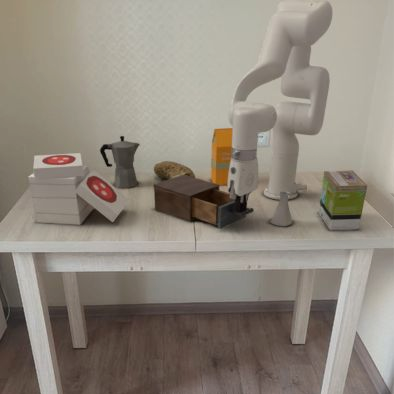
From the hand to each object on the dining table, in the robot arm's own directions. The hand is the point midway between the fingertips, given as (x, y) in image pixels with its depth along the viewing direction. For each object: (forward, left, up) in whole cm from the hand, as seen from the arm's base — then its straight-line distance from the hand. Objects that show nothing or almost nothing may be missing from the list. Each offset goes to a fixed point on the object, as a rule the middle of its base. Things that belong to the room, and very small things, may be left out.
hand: (240, 213), depth 156 cm
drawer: (+5, -6, -4) cm, 9 cm away
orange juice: (+1, -47, -5) cm, 47 cm away
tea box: (-33, -4, -5) cm, 34 cm away
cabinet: (+17, -17, -5) cm, 24 cm away
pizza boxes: (+53, -13, -5) cm, 54 cm away
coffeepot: (+41, -45, -5) cm, 61 cm away
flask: (-14, -4, -5) cm, 16 cm away
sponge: (+21, -49, -5) cm, 53 cm away
